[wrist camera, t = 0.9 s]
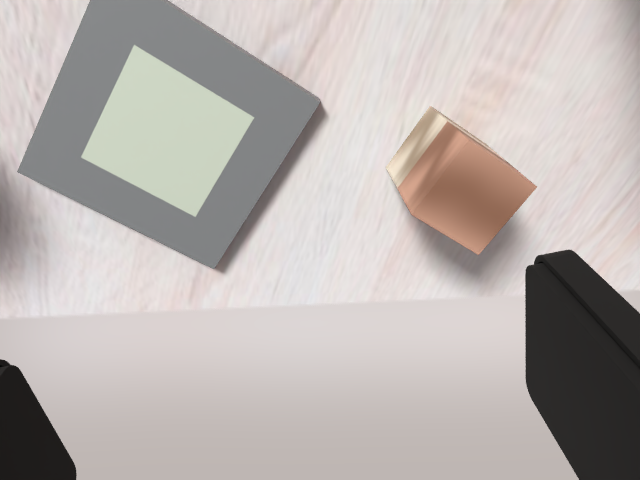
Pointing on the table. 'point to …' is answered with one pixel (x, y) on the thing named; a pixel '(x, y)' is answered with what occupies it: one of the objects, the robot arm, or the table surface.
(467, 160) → the brick stack
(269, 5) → the table surface
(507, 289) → the table surface
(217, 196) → the base board
